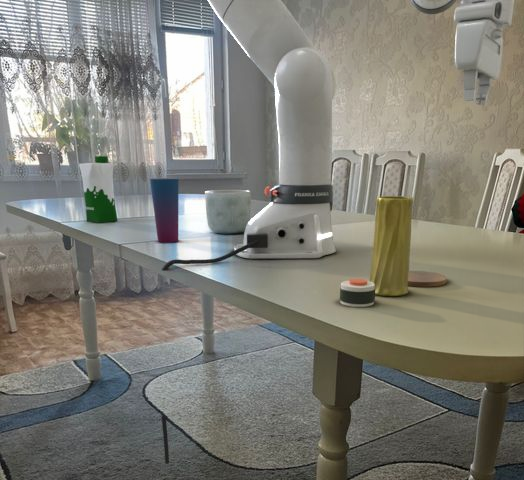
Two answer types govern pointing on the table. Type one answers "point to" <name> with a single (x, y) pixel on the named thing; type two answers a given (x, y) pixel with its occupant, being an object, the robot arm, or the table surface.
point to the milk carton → (99, 190)
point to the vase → (391, 245)
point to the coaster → (426, 279)
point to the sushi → (357, 293)
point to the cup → (165, 208)
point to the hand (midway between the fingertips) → (475, 102)
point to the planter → (228, 210)
